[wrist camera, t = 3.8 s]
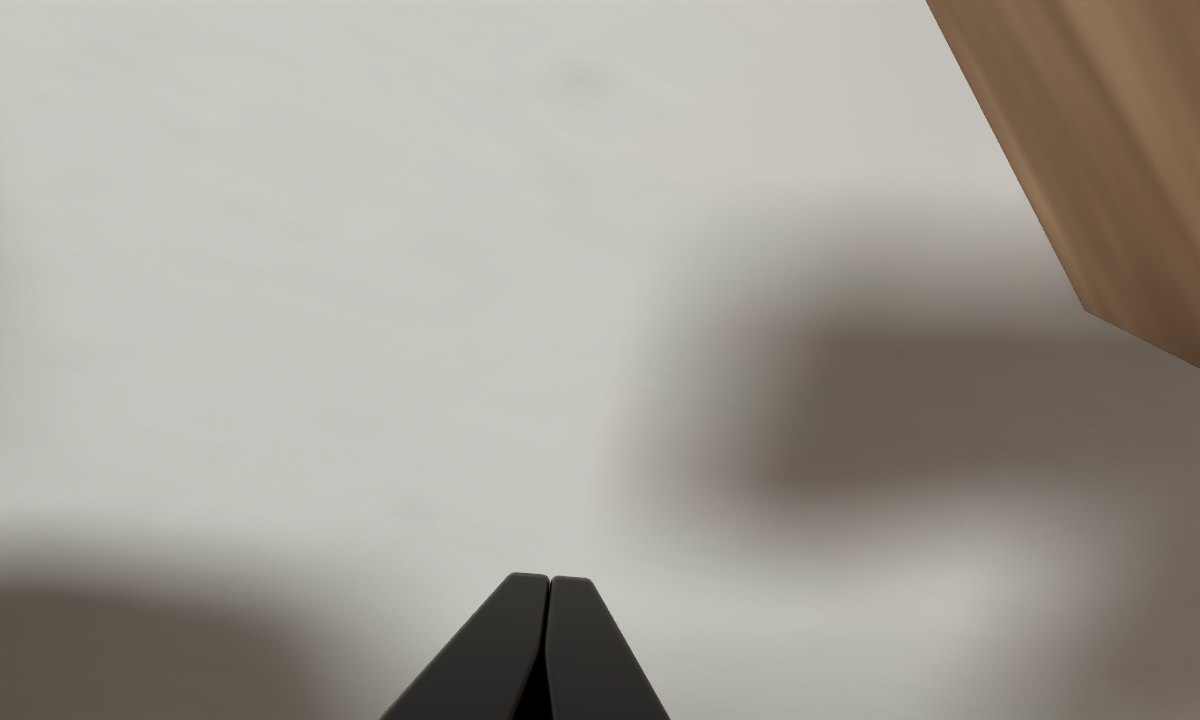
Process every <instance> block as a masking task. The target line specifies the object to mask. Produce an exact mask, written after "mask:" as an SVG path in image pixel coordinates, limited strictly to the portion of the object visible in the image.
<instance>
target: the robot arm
mask: <svg viewBox="0 0 1200 720" xmlns="http://www.w3.org/2000/svg"><path fill="white" fill-rule="evenodd" d="M379 720H671V719H670V718H669V716H668V714H667V712H666V711H665V709H664V707H663V705H662V704H661V702H660V700H659V698H658V697H657V695H656V693H655V691H654V689H653V688H652V686H651V684H650V682H649V681H648V679H647V677H646V675H645V674H644V672H643V670H642V668H641V667H640V665H639V663H638V661H637V660H636V658H635V656H634V654H633V652H632V651H631V649H630V647H629V645H628V644H627V642H626V640H625V638H624V637H623V635H622V633H621V631H620V630H619V628H618V626H617V624H616V623H615V621H614V619H613V617H612V615H611V614H610V612H609V610H608V608H607V607H606V605H605V603H604V601H603V600H602V598H601V596H600V594H599V593H598V591H597V589H596V587H595V586H594V584H593V583H592V581H591V580H590V579H588V578H580V577H568V576H555V577H553V578H552V580H551V583H550V580H549V578H548V577H547V576H546V575H543V574H531V573H518V572H514V573H511V574H510V575H508V576H507V577H506V578H505V580H504V581H503V582H502V583H501V584H500V585H499V586H498V587H497V588H496V590H495V591H494V592H493V593H492V594H491V595H490V596H489V597H488V598H487V600H486V601H485V602H484V603H483V604H482V605H481V606H480V607H479V608H478V610H477V611H476V612H475V613H474V614H473V615H472V616H471V617H470V618H469V620H468V621H467V622H466V623H465V624H464V625H463V626H462V627H461V628H460V630H459V631H458V632H457V633H456V634H455V635H454V636H453V637H452V638H451V640H450V641H449V642H448V643H447V644H446V645H445V646H444V647H443V648H442V650H441V651H440V652H439V653H438V654H437V655H436V656H435V657H434V658H433V660H432V661H431V662H430V663H429V664H428V665H427V666H426V667H425V669H424V670H423V671H422V672H421V673H420V674H419V675H418V676H417V677H416V679H415V680H414V681H413V682H412V683H411V684H410V685H409V686H408V687H407V689H406V690H405V691H404V692H403V693H402V694H401V695H400V696H399V697H398V699H397V700H396V701H395V702H394V703H393V704H392V705H391V706H390V707H389V709H388V710H387V711H386V712H385V713H384V714H383V715H382V716H381V717H380V719H379Z"/></svg>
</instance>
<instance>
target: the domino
mask: <svg viewBox="0 0 1200 720" xmlns="http://www.w3.org/2000/svg"><path fill="white" fill-rule="evenodd" d="M926 2H927V4H928V6H929V8H930V10H931V12H932V14H933V16H934V18H935V20H936V21H937V23H938V25H939V27H940V29H941V31H942V33H943V35H944V37H945V39H946V41H947V43H948V45H949V47H950V49H951V51H952V53H953V55H954V56H955V58H956V60H957V62H958V64H959V66H960V68H961V70H962V72H963V74H964V76H965V78H966V80H967V82H968V84H969V86H970V88H971V90H972V92H973V93H974V95H975V97H976V99H977V101H978V103H979V105H980V107H981V109H982V111H983V113H984V115H985V117H986V119H987V121H988V123H989V125H990V127H991V128H992V130H993V132H994V134H995V136H996V138H997V140H998V142H999V144H1000V146H1001V148H1002V150H1003V152H1004V154H1005V156H1006V158H1007V160H1008V162H1009V163H1010V165H1011V167H1012V169H1013V171H1014V173H1015V175H1016V177H1017V179H1018V181H1019V183H1020V185H1021V187H1022V189H1023V191H1024V193H1025V195H1026V197H1027V198H1028V200H1029V202H1030V204H1031V206H1032V208H1033V210H1034V212H1035V214H1036V216H1037V218H1038V220H1039V222H1040V224H1041V226H1042V228H1043V230H1044V232H1045V234H1046V235H1047V237H1048V239H1049V241H1050V243H1051V245H1052V247H1053V249H1054V251H1055V253H1056V255H1057V257H1058V259H1059V261H1060V263H1061V265H1062V267H1063V269H1064V270H1065V272H1066V274H1067V276H1068V278H1069V280H1070V282H1071V284H1072V286H1073V288H1074V290H1075V292H1076V294H1077V296H1078V298H1079V300H1080V302H1081V304H1082V305H1083V307H1084V309H1085V311H1087V312H1089V313H1091V314H1093V315H1095V316H1097V317H1099V318H1101V319H1103V320H1105V321H1107V322H1109V323H1111V324H1113V325H1115V326H1117V327H1119V328H1121V329H1123V330H1125V331H1127V332H1129V333H1131V334H1133V335H1135V336H1137V337H1139V338H1141V339H1143V340H1145V341H1147V342H1149V343H1151V344H1153V345H1155V346H1157V347H1159V348H1161V349H1163V350H1165V351H1166V352H1168V353H1170V354H1172V355H1174V356H1176V357H1178V358H1180V359H1182V360H1184V361H1186V362H1188V363H1190V364H1192V365H1194V366H1196V367H1198V368H1200V0H926Z"/></svg>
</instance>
